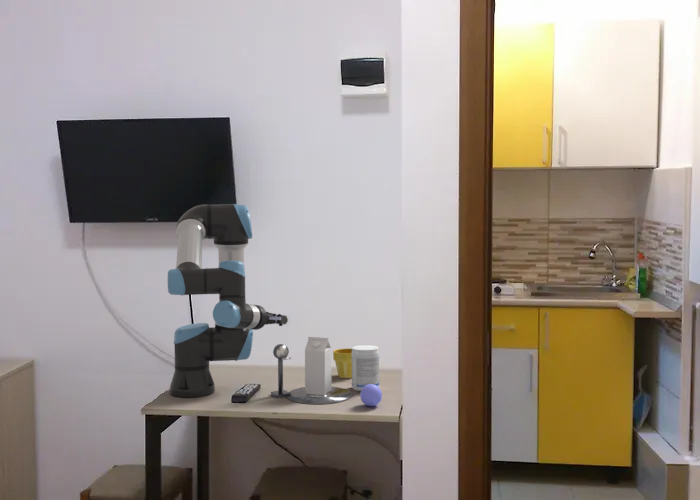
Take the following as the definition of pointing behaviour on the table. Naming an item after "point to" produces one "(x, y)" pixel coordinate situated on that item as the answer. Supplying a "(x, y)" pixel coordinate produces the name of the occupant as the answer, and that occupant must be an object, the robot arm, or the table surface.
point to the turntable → (319, 396)
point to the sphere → (371, 395)
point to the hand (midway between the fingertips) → (287, 320)
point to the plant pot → (343, 362)
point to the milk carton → (317, 366)
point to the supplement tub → (365, 366)
